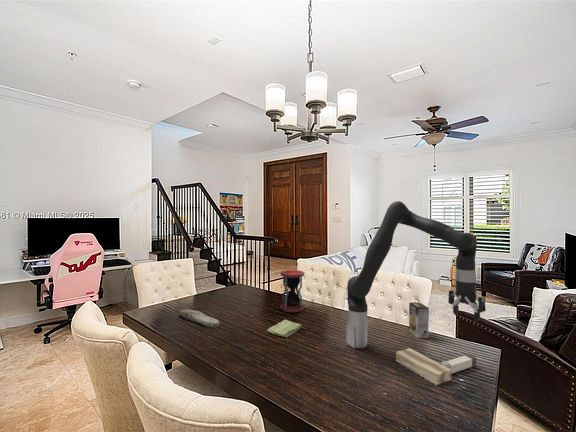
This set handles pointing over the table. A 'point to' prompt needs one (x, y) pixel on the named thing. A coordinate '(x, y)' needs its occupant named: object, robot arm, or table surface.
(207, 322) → the elongated rock
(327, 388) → the table surface
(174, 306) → the table surface
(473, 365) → the folding leg
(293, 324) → the washcloth
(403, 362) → the rail
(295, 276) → the hourglass
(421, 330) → the coffee box
